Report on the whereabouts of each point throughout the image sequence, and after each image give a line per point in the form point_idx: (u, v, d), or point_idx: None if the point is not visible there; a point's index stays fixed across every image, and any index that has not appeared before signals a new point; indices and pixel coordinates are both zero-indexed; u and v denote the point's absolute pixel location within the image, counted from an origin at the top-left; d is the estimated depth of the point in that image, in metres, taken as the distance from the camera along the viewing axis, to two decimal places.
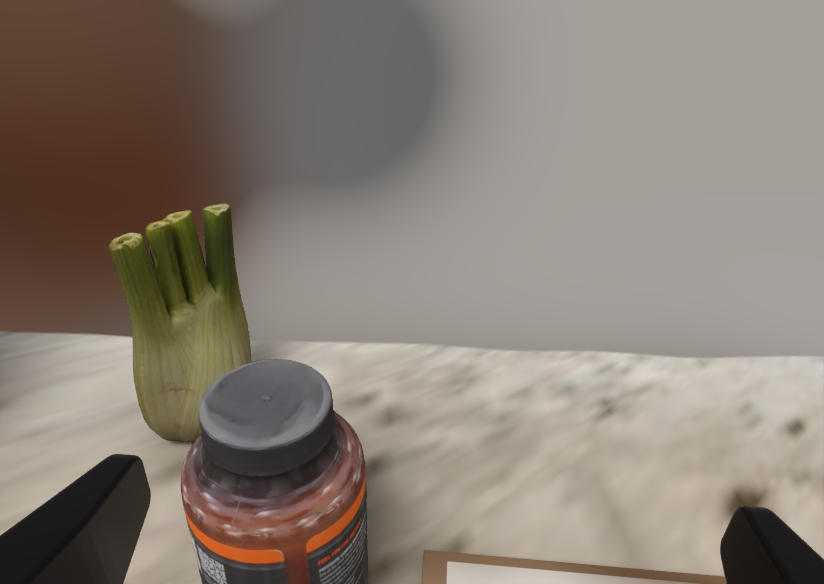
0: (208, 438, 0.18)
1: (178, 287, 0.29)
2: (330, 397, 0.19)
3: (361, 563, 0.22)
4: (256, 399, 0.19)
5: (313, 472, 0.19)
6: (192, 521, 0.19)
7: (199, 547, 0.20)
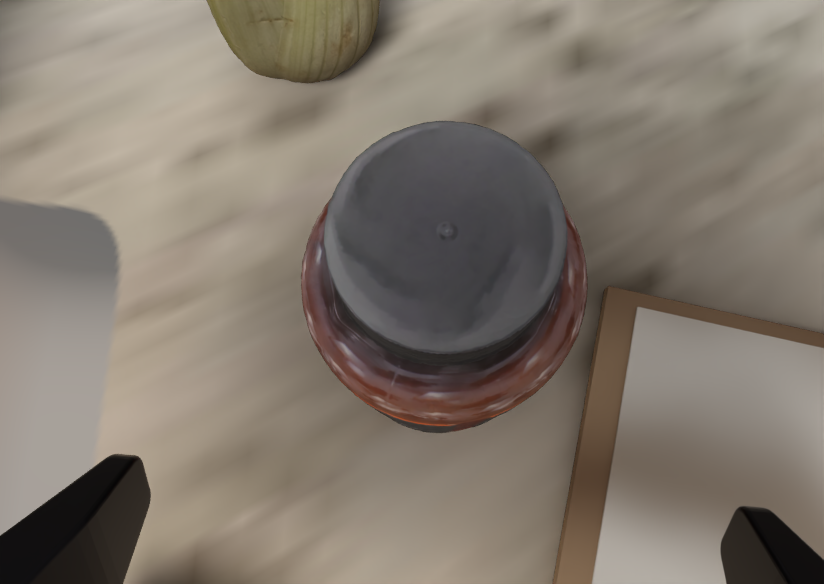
0: (346, 305, 0.10)
1: None
2: (565, 239, 0.10)
3: None
4: (427, 233, 0.10)
5: (515, 343, 0.11)
6: (325, 360, 0.13)
7: None
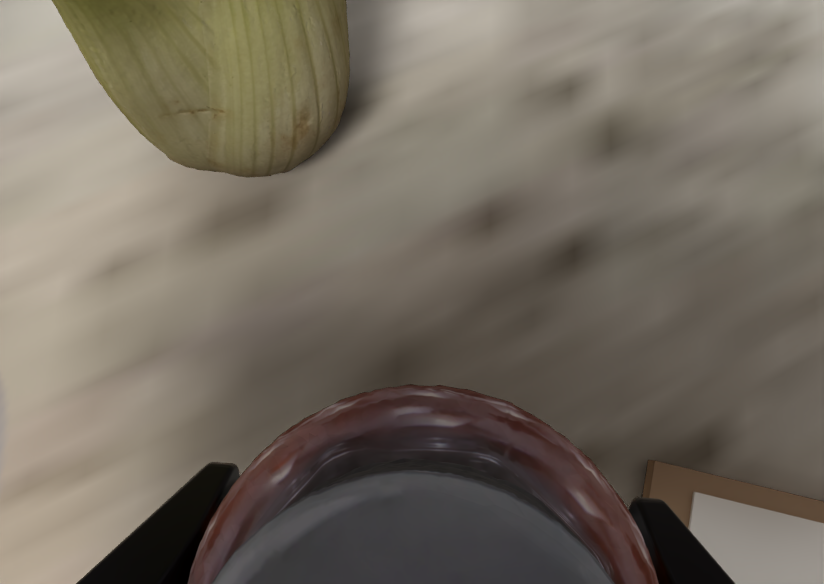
0: None
1: None
2: None
3: None
4: None
5: None
6: None
7: None
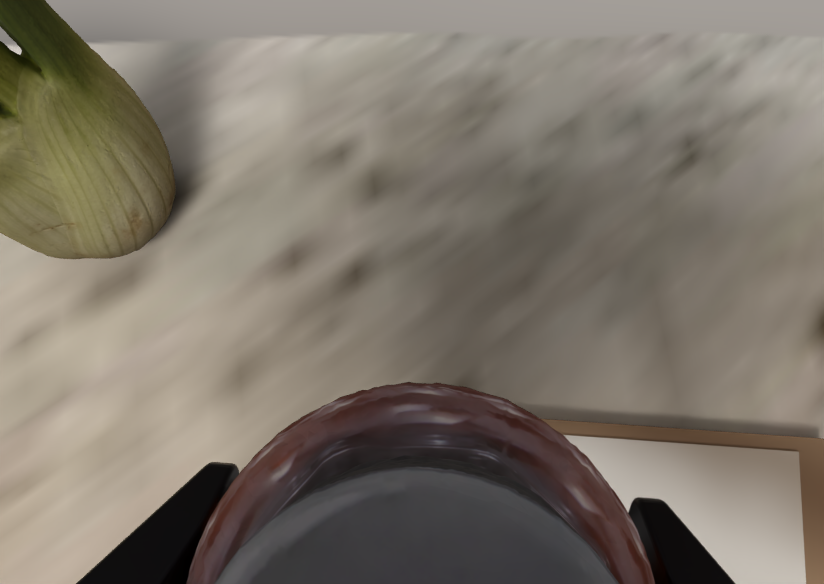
0: None
1: None
2: None
3: None
4: None
5: None
6: None
7: None
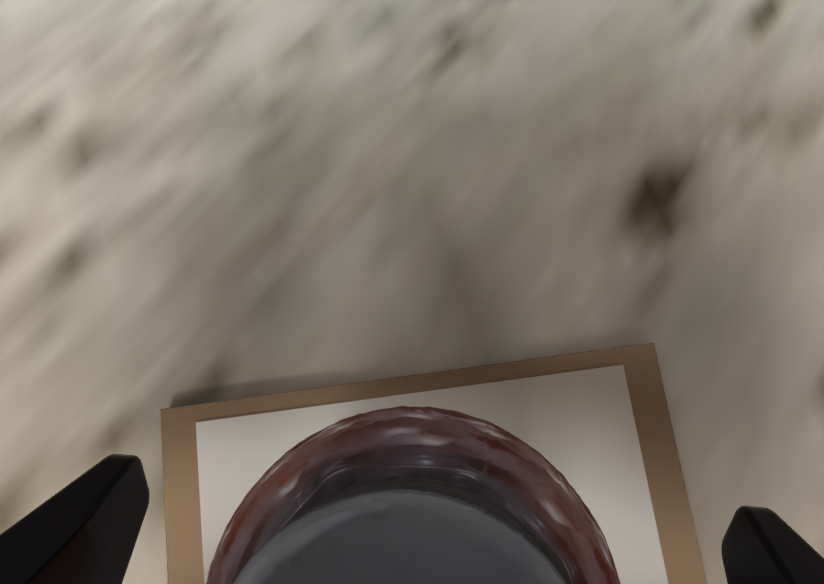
0: None
1: None
2: None
3: None
4: None
5: None
6: None
7: None
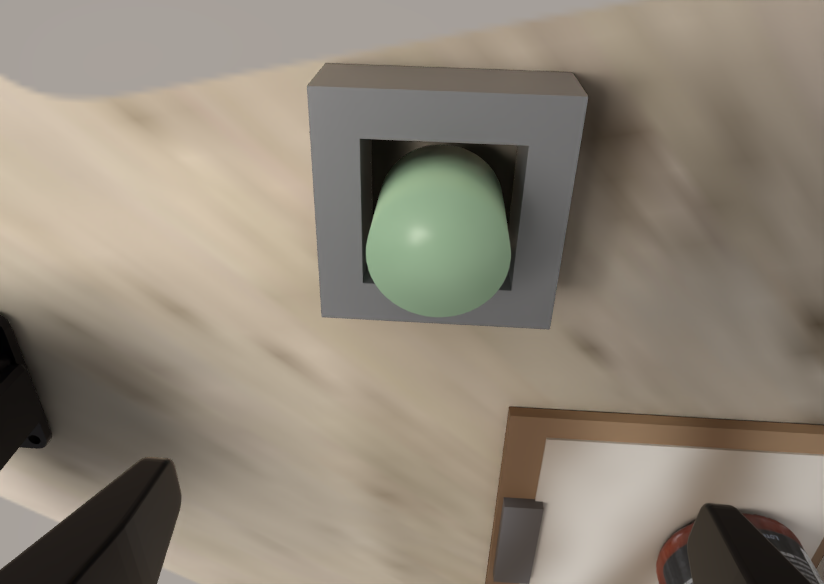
0: None
1: None
2: None
3: None
4: None
5: None
6: None
7: None
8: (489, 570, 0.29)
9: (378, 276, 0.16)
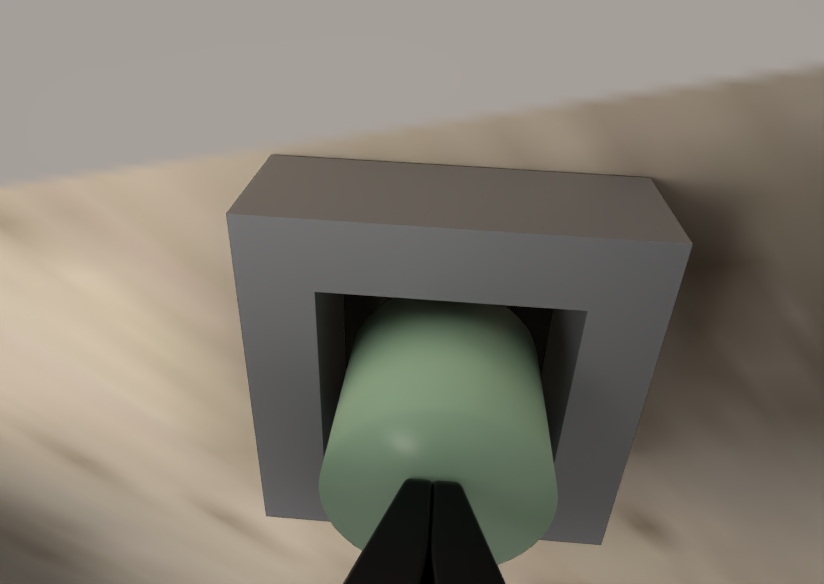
0: None
1: None
2: None
3: None
4: None
5: None
6: None
7: None
8: None
9: (340, 518, 0.10)
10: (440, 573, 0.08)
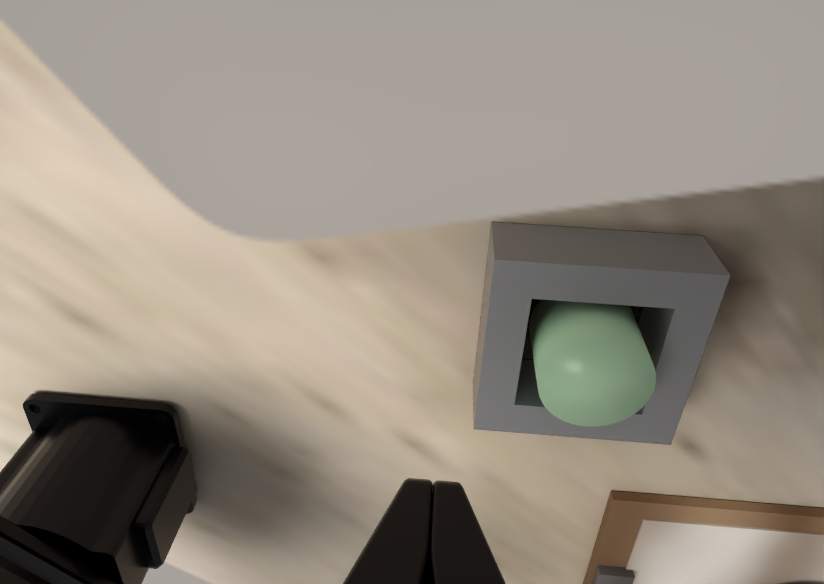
0: None
1: None
2: None
3: None
4: None
5: None
6: None
7: None
8: None
9: (545, 396, 0.20)
10: (440, 573, 0.08)
